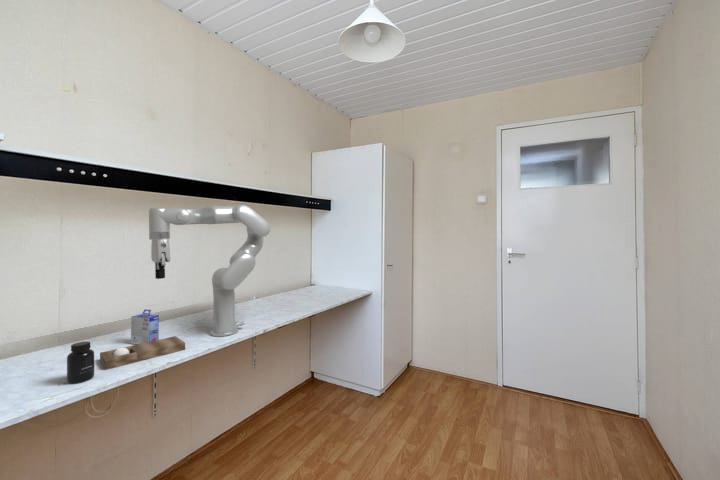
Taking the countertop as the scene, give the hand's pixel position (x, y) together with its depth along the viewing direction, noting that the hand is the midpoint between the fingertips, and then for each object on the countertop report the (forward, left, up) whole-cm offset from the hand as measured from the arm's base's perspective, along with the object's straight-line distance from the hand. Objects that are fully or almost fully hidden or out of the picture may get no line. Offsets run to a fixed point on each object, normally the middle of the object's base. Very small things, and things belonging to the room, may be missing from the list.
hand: (160, 278), depth 135 cm
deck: (+8, +8, -29) cm, 31 cm away
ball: (+16, +9, -27) cm, 32 cm away
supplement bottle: (+28, +17, -29) cm, 44 cm away
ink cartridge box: (+4, -8, -29) cm, 31 cm away
